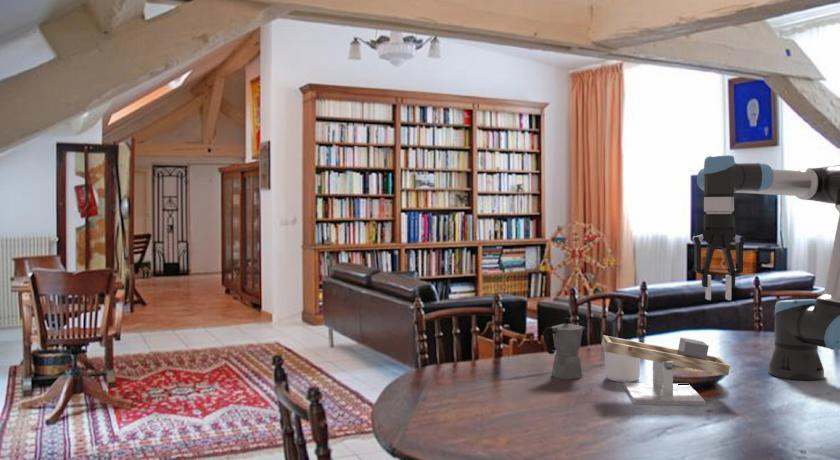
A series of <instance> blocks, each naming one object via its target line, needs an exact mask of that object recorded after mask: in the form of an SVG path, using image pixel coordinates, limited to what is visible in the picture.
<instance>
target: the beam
mask: <svg viewBox="0 0 840 460" xmlns="http://www.w3.org/2000/svg"><path fill="white" fill-rule="evenodd" d="M601 347H602V348H603V350H604V352H605V351H606V352H610V353H615V354H620V355H625V356H630V357H635V358H640V360H641V359H642V360H646V361H651V362H653V361H656V362H661V363H662V360H672V361H673V366H676V367H681V368H686V369H687V368H688V369H692V370H698V371H703V372H707V373H713V374H719V375H723V376H729V373H730V368H731V365H730V364H729V363H727V362H726V361H725V360H723V359H722V358H721V357H719V356H718V357H717V356H714V355H708V354H707V357H706V360H702V359H697V358H692V357H687V356H681V355H677V353H678V348H670V347H667V346H661V345H656V344H651V343H646V342H640V341H635V340H630V339H625V338H619V337H615V336H610V335H609V336H608V335H604V334H603V335H602V339H601Z"/></svg>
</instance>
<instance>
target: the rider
mask: <svg viewBox="0 0 840 460" xmlns="http://www.w3.org/2000/svg"><path fill="white" fill-rule="evenodd" d="M709 348H710V347H709V345H708V344H707V343H706V342H704V341H702V340H697V339H691V338H686V337H680V338H679V344H678V348H677V350H678V353H677V355H681V356H687V357H692V358H697V359H702V360H706V357H707V355H708V351H709Z"/></svg>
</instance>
